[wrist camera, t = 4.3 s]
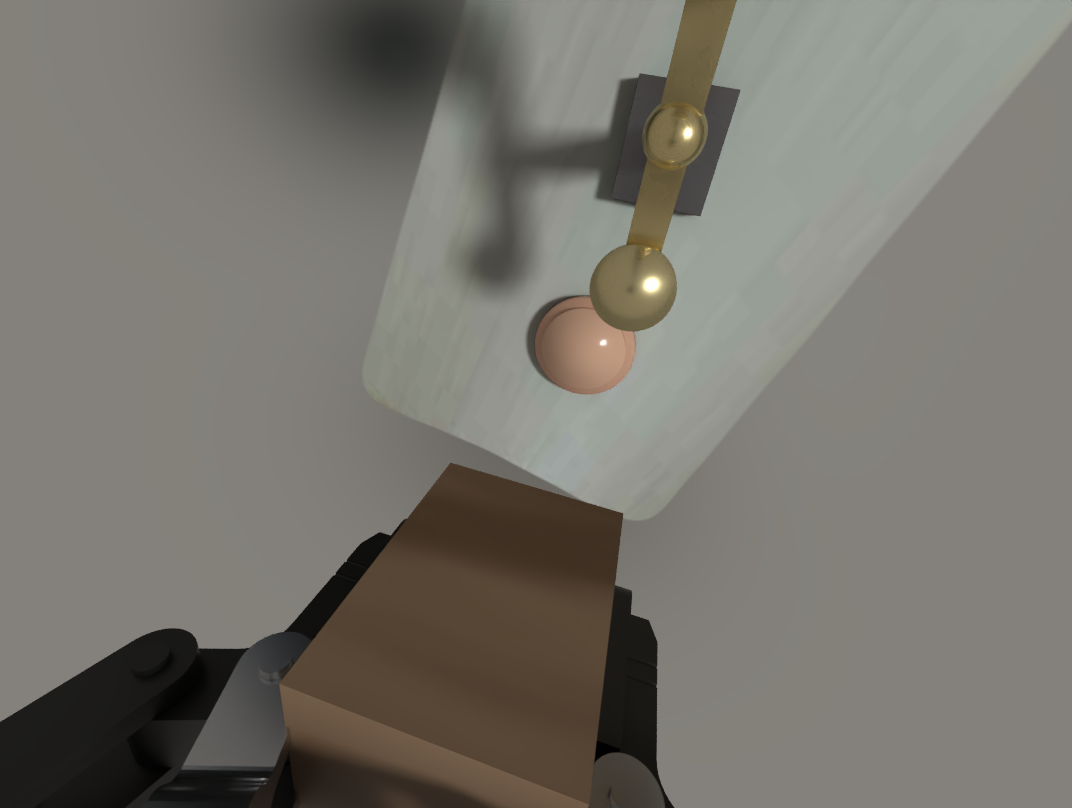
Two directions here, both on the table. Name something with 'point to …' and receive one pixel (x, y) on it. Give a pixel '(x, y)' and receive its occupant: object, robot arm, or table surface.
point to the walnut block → (463, 658)
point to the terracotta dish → (582, 348)
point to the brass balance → (666, 167)
